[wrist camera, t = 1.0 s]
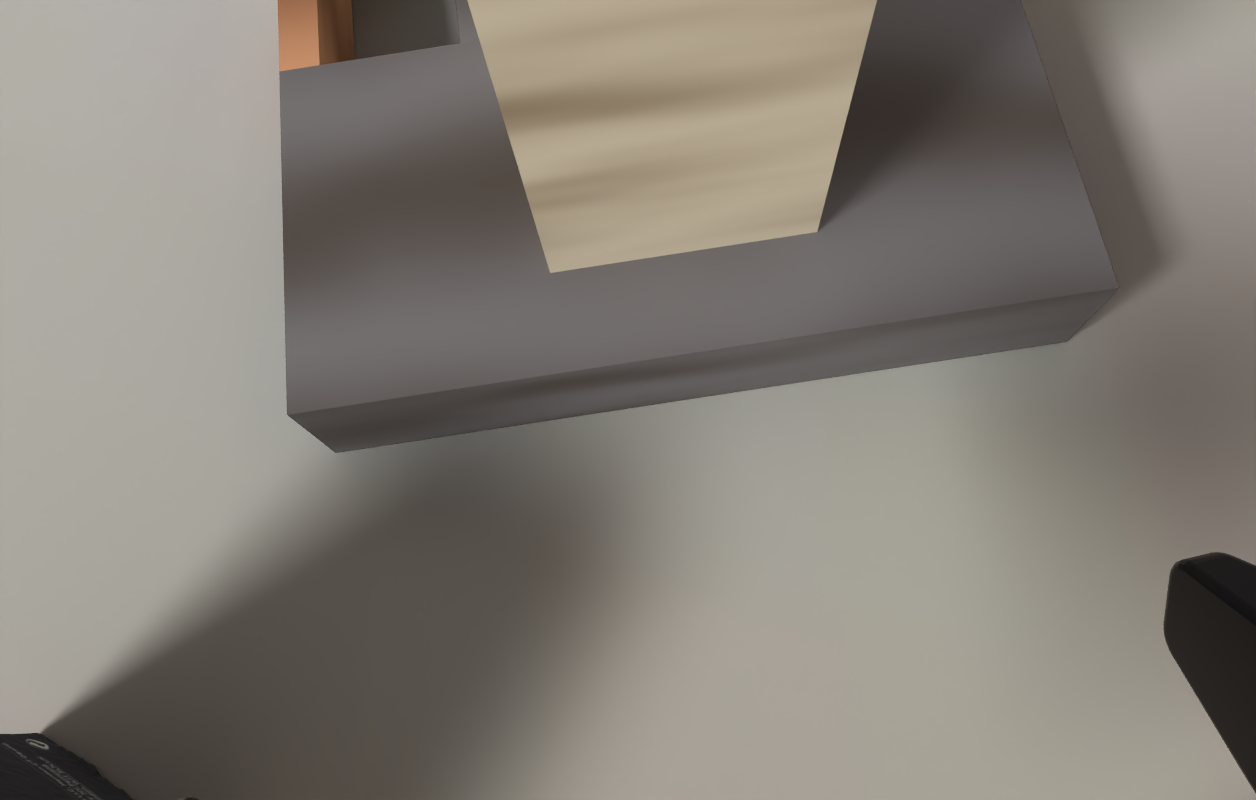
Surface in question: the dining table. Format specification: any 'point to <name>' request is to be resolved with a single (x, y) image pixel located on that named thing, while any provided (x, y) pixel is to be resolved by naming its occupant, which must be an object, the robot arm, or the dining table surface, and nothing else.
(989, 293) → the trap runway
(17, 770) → the small box
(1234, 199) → the dining table surface
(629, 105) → the birch block
